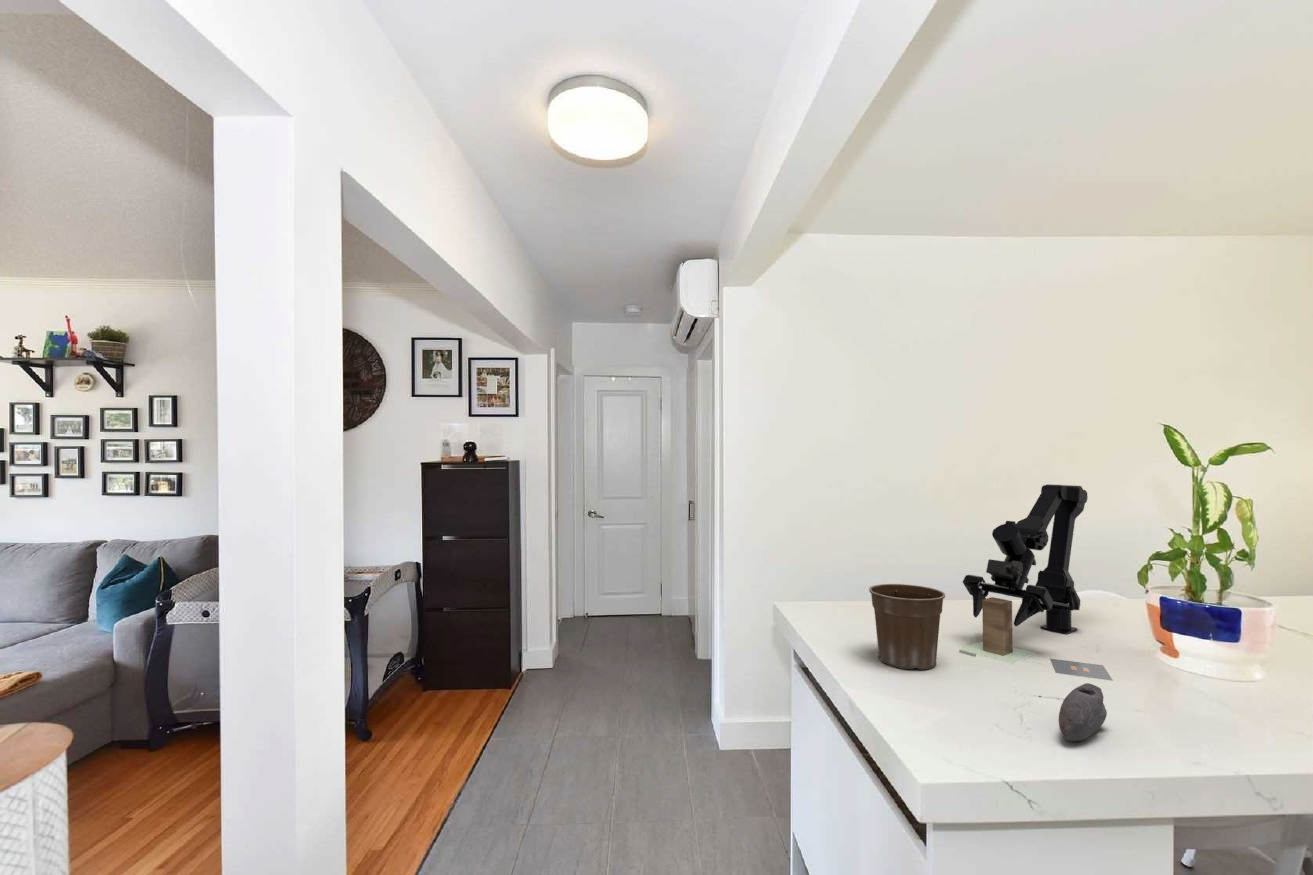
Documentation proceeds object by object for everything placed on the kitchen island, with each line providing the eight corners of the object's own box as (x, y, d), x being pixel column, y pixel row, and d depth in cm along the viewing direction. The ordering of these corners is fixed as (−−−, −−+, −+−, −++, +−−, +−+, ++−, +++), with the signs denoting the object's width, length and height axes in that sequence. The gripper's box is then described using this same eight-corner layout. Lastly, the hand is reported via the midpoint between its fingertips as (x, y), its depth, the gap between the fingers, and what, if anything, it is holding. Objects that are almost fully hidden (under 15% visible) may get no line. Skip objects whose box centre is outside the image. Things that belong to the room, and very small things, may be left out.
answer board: (984, 642, 153) (984, 640, 153) (1036, 655, 143) (1036, 653, 143) (959, 652, 146) (959, 649, 146) (1012, 666, 136) (1012, 663, 136)
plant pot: (883, 645, 151) (883, 579, 152) (954, 659, 141) (953, 589, 142) (859, 663, 139) (858, 592, 139) (934, 680, 129) (933, 603, 129)
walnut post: (992, 646, 148) (992, 597, 148) (1012, 652, 144) (1012, 600, 144) (983, 650, 145) (982, 599, 145) (1003, 655, 141) (1002, 603, 142)
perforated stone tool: (1082, 753, 98) (1081, 709, 98) (1045, 741, 102) (1044, 699, 102) (1113, 726, 107) (1112, 687, 107) (1078, 716, 111) (1077, 678, 111)
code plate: (1049, 660, 140) (1049, 658, 140) (1103, 667, 135) (1103, 664, 135) (1055, 675, 131) (1055, 672, 131) (1113, 683, 126) (1113, 680, 126)
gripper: (965, 542, 155) (942, 592, 148) (1046, 552, 140) (1025, 608, 133) (981, 569, 159) (960, 619, 153) (1062, 582, 144) (1042, 638, 138)
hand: (994, 620), depth 144 cm, fingers open, 9 cm apart
